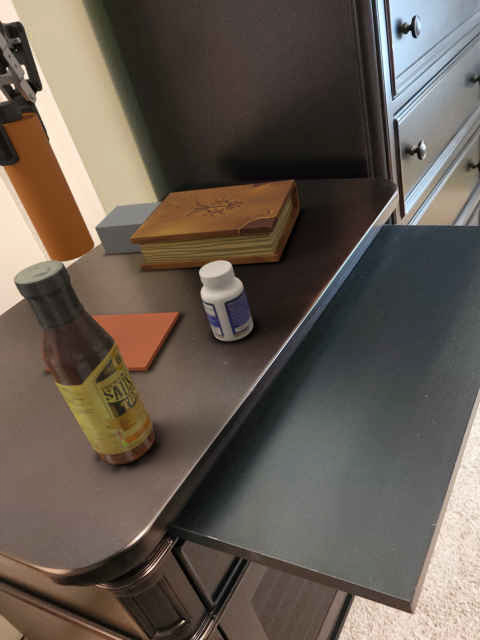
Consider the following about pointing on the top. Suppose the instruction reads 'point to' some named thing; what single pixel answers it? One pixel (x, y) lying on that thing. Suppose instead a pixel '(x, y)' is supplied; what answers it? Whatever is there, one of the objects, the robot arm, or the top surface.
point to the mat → (138, 335)
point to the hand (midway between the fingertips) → (25, 153)
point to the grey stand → (123, 227)
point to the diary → (219, 226)
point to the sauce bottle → (86, 366)
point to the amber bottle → (44, 187)
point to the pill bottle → (225, 301)
